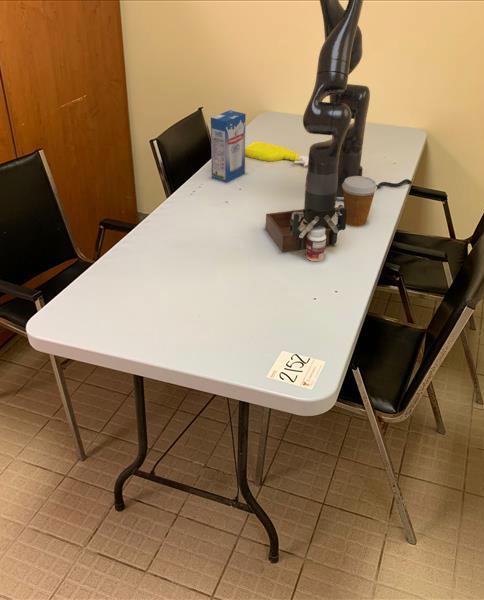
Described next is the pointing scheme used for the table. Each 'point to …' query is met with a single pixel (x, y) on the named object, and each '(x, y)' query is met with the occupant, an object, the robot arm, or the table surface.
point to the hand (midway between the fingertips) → (315, 246)
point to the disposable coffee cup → (358, 199)
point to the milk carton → (228, 145)
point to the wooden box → (286, 231)
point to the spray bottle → (273, 153)
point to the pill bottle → (316, 244)
